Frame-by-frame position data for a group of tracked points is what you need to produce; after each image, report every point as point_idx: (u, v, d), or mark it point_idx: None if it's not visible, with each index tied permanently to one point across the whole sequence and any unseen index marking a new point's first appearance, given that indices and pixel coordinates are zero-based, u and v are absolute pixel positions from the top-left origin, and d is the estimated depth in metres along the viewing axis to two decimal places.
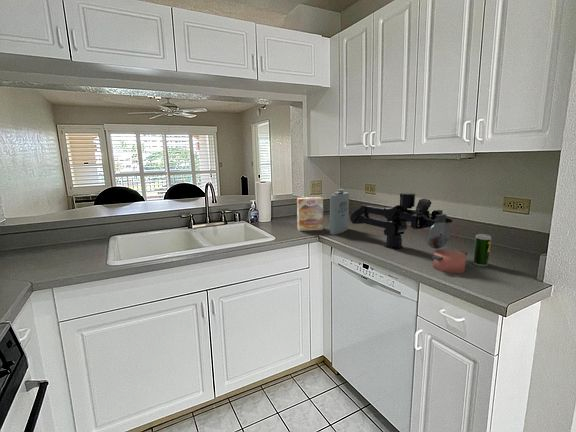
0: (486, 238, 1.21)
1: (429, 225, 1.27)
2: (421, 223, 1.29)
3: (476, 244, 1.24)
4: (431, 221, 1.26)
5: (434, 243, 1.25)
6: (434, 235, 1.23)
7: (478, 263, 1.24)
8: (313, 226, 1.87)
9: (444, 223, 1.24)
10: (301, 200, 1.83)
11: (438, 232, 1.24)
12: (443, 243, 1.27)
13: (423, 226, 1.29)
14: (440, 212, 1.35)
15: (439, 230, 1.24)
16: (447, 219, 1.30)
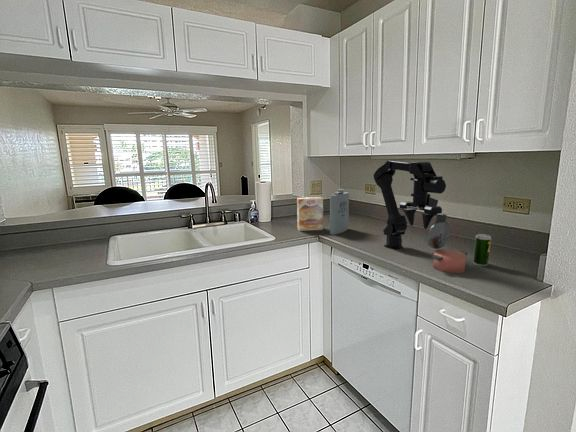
0: (486, 238, 1.21)
1: (426, 221, 1.29)
2: None
3: (476, 244, 1.24)
4: (429, 222, 1.30)
5: (434, 243, 1.25)
6: (434, 235, 1.23)
7: (478, 263, 1.24)
8: (313, 226, 1.87)
9: (444, 223, 1.24)
10: (301, 200, 1.83)
11: (438, 232, 1.24)
12: (443, 243, 1.27)
13: (426, 216, 1.28)
14: None
15: (439, 230, 1.24)
16: (412, 221, 1.38)
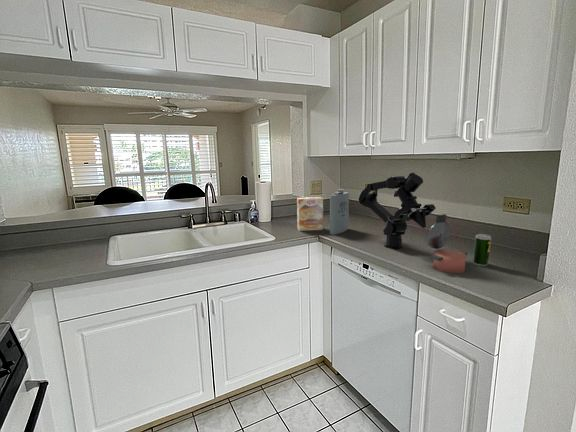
0: (486, 238, 1.21)
1: None
2: None
3: (476, 244, 1.24)
4: None
5: (434, 243, 1.25)
6: (434, 235, 1.23)
7: (478, 263, 1.24)
8: (313, 226, 1.87)
9: (444, 223, 1.24)
10: (301, 200, 1.83)
11: (438, 232, 1.24)
12: (443, 243, 1.27)
13: None
14: None
15: (439, 230, 1.24)
16: None
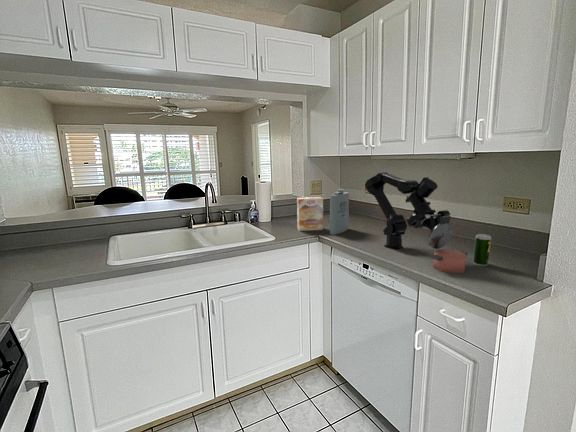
0: (486, 238, 1.21)
1: None
2: None
3: (476, 244, 1.24)
4: None
5: (435, 244, 1.24)
6: (436, 236, 1.23)
7: (478, 263, 1.24)
8: (313, 226, 1.87)
9: (447, 224, 1.22)
10: (301, 200, 1.83)
11: (441, 233, 1.23)
12: (444, 243, 1.26)
13: None
14: None
15: (441, 231, 1.23)
16: None
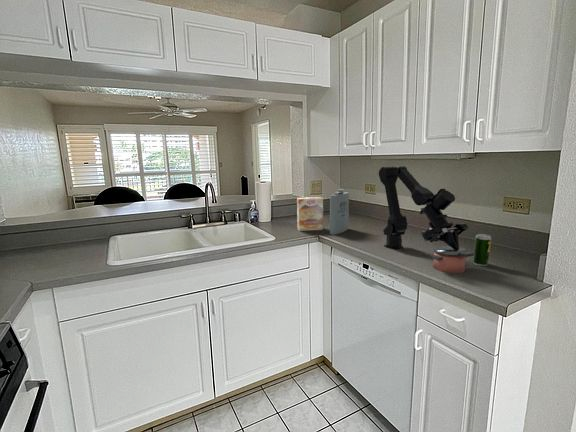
0: (486, 238, 1.21)
1: None
2: None
3: (476, 244, 1.24)
4: None
5: None
6: None
7: (478, 263, 1.24)
8: (313, 226, 1.87)
9: None
10: (301, 200, 1.83)
11: None
12: None
13: None
14: None
15: None
16: None
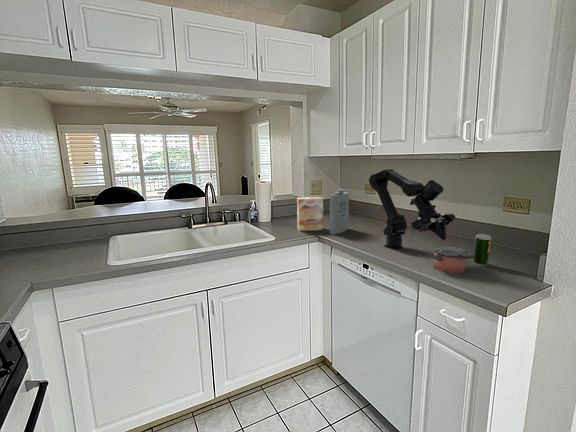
0: (486, 238, 1.21)
1: None
2: None
3: (476, 244, 1.24)
4: None
5: None
6: None
7: (478, 263, 1.24)
8: (313, 226, 1.87)
9: None
10: (301, 200, 1.83)
11: None
12: None
13: None
14: None
15: None
16: None
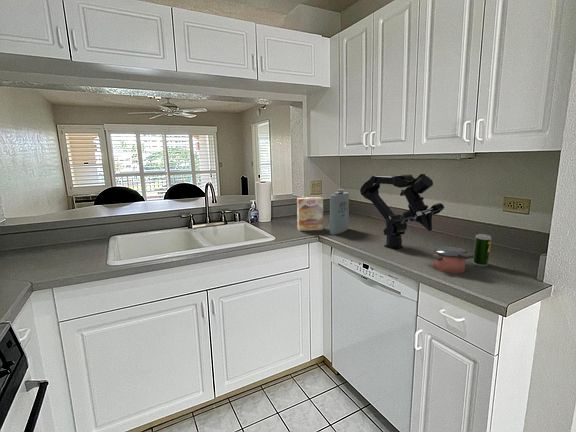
0: (486, 238, 1.21)
1: None
2: None
3: (476, 244, 1.24)
4: None
5: None
6: None
7: (478, 263, 1.24)
8: (313, 226, 1.87)
9: None
10: (301, 200, 1.83)
11: None
12: None
13: None
14: None
15: None
16: None
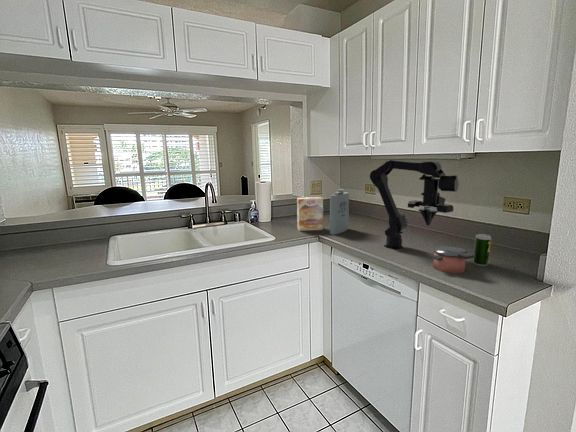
0: (486, 238, 1.21)
1: (430, 218, 1.36)
2: None
3: (476, 244, 1.24)
4: None
5: None
6: None
7: (478, 263, 1.24)
8: (313, 226, 1.87)
9: None
10: (301, 200, 1.83)
11: None
12: None
13: (430, 213, 1.34)
14: None
15: None
16: None
